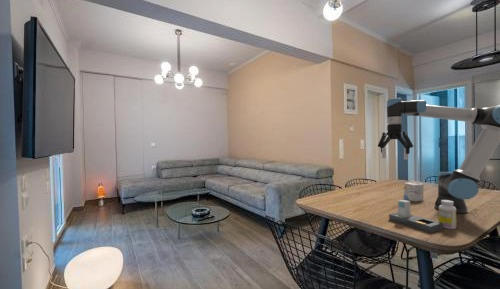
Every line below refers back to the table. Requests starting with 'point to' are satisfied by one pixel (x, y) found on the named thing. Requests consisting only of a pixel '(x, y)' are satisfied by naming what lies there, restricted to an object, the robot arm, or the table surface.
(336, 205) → the table surface
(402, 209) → the plug
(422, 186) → the ink box
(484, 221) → the table surface
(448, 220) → the supplement bottle
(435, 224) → the panel
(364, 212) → the table surface
